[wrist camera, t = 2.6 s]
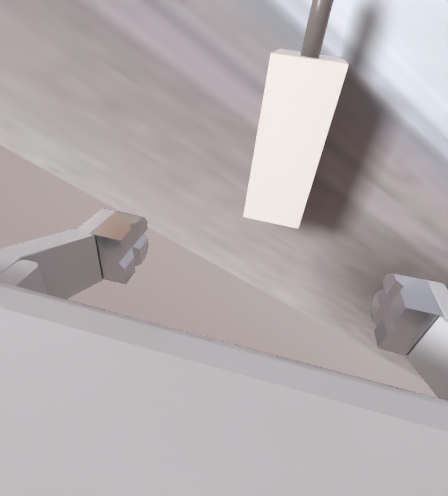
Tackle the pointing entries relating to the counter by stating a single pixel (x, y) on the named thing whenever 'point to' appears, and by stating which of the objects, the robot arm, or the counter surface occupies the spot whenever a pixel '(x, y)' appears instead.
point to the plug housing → (294, 124)
